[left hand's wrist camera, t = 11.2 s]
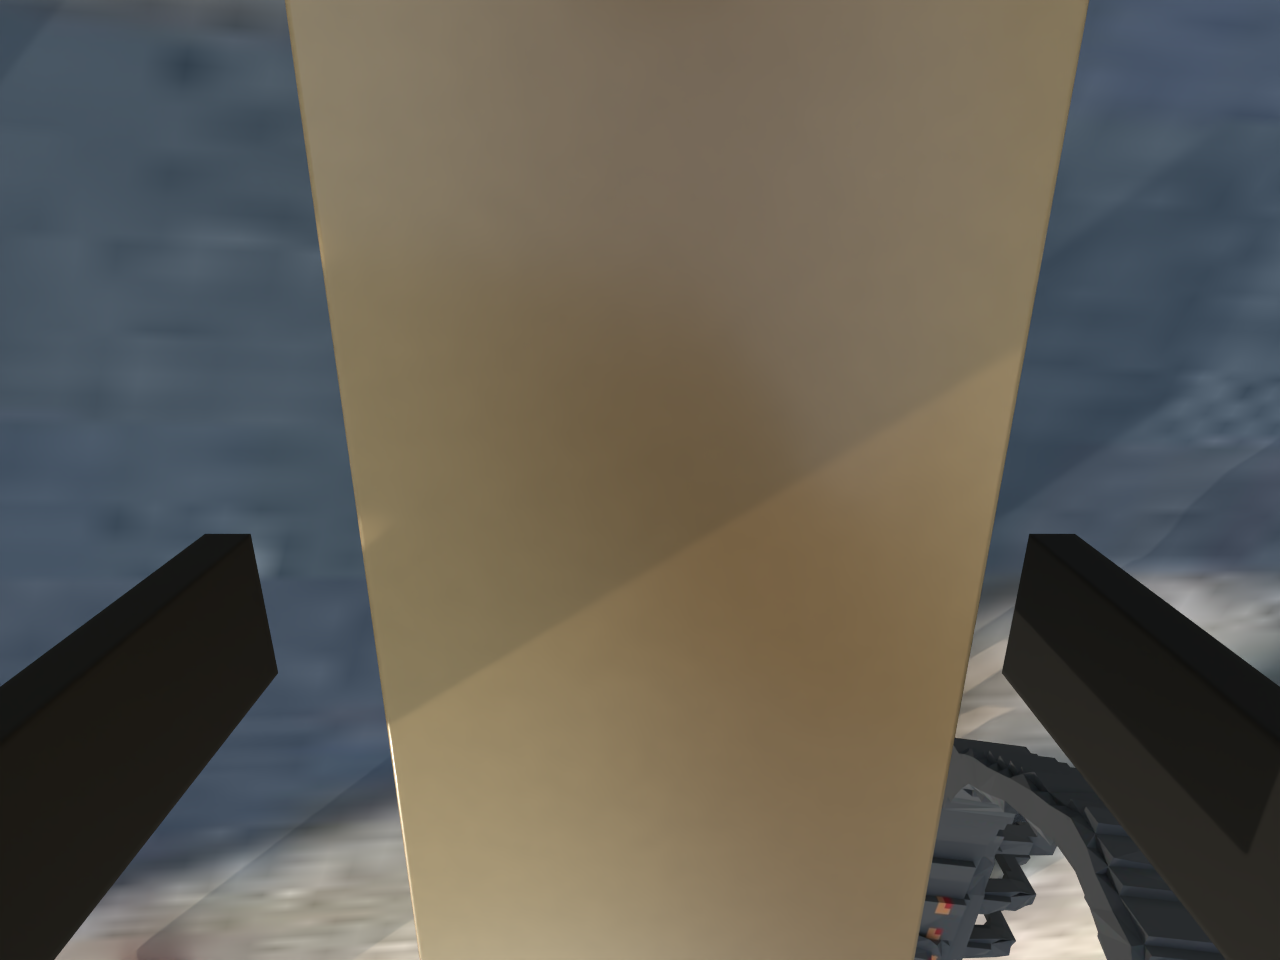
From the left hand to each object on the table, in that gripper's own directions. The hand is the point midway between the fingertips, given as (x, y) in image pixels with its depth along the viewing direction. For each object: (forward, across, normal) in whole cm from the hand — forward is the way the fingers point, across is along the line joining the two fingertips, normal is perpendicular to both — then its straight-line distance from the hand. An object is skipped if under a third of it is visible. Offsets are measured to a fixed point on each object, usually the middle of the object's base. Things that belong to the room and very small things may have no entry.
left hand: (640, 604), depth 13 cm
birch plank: (+2, 0, +9) cm, 9 cm away
